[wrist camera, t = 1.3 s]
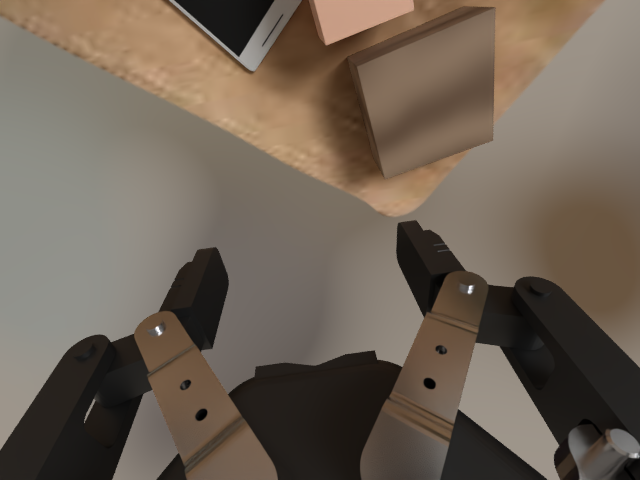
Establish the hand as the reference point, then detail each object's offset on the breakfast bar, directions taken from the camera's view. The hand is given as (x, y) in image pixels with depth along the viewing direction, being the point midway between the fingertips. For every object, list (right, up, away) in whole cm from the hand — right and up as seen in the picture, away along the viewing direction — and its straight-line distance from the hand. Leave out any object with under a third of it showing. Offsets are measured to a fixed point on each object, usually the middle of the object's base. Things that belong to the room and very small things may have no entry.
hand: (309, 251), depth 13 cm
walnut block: (+9, +15, +15) cm, 23 cm away
